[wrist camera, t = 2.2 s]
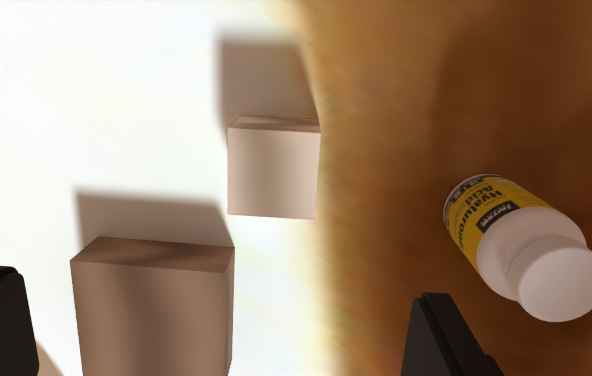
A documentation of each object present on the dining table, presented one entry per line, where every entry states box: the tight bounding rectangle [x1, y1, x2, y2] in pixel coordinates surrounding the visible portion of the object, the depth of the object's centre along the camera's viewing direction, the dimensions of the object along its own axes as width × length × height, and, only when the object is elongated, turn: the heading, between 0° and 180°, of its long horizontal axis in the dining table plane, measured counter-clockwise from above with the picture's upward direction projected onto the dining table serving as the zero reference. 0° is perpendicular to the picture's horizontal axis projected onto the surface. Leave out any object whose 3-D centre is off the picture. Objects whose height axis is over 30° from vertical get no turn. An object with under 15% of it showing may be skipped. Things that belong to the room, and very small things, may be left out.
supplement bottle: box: [443, 174, 592, 322], centre depth 23 cm, size 5×5×10 cm
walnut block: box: [70, 237, 235, 376], centre depth 29 cm, size 10×10×4 cm
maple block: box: [228, 115, 321, 220], centre depth 25 cm, size 5×5×5 cm
